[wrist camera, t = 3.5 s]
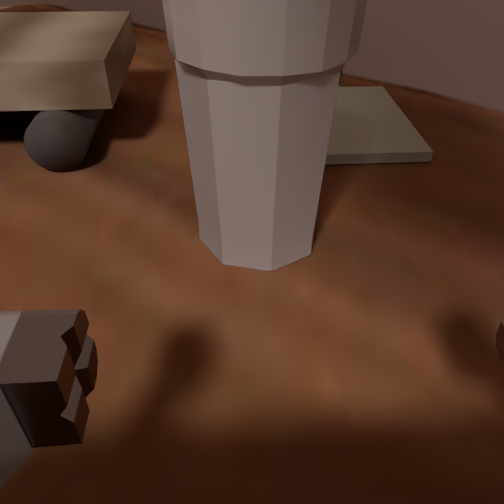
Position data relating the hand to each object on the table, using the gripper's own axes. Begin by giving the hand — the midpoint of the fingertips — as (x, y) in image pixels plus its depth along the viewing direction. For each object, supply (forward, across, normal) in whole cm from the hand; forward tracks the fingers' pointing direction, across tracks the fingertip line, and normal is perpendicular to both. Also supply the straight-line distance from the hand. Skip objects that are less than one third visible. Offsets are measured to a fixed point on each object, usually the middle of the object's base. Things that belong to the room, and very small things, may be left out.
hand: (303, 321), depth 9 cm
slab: (+23, +14, +6) cm, 27 cm away
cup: (+11, 0, +6) cm, 13 cm away
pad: (+22, -5, +6) cm, 23 cm away
